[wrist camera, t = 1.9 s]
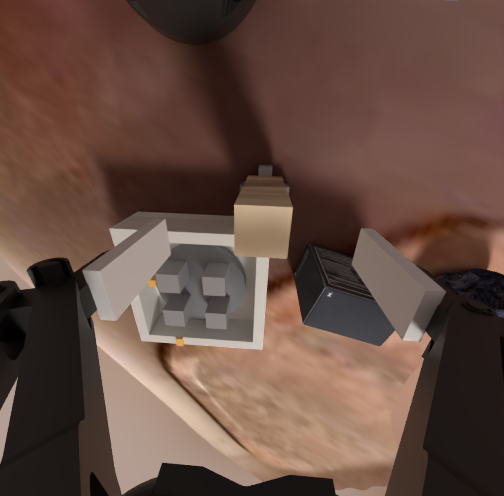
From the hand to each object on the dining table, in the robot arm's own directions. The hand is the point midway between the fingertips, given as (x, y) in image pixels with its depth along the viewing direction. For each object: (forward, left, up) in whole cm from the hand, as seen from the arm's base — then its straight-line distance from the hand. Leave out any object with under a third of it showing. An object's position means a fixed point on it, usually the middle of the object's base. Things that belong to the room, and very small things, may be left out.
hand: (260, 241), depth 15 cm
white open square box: (+13, -8, -16) cm, 22 cm away
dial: (+13, -9, -14) cm, 21 cm away
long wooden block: (0, 0, -16) cm, 16 cm away
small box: (+12, +11, -16) cm, 23 cm away
